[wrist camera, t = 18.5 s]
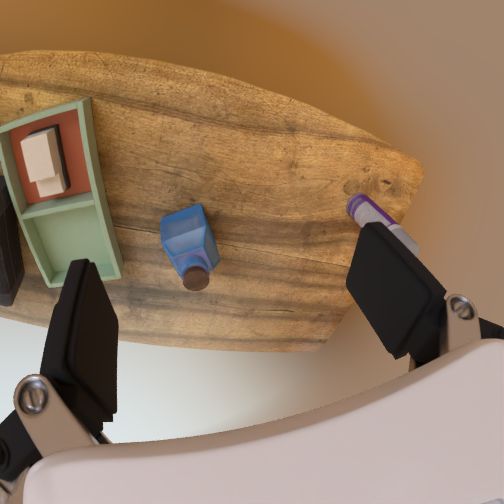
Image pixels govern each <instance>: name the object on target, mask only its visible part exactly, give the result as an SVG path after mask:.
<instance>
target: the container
mask: <svg viewBox="0 0 504 504" xmlns="http://www.w3.org/2000/svg"><path fill="white" fill-rule="evenodd" d="M346 210H347V213H348V214H349V215H350V216H351V217H352V218H353V219H354V220H355V221H356V222H357V224H358V225H359V226H360V227H361V228H362V227H364V225H365V224H366V223H367V222H376V221H380V222H382V223H383V224H384V225H385V226H386V227H387V228H388V229H389V230H390V231H391V232H392V233H393V234H394V235H395V236H396V237H397V238H398V239H399V240H400V241H401V242H402V243H403V244H404V245H405V246H406V247H407V248H408V249H409V250H410V251H411V252H412V253H413V254H414V255H415V256H416V257H417V256H418V254H419V251H420V247H419V245H418V244H417V243H416V242H415V241H414V240H413V239H412V238H411V237H410V236H409V235H408V234H407V233H406V232H405V231H404V230H403V229H402V227H401V226H400V225H399V224H397V223H396V222H395V221H394V220H393V219H392V218H391V217H390V216H389V215H388V214H387V213H385V212H384V211H383V210H382V209H381V208H380V207H379V206H378V205H376V204H375V203H374V202H373V201H372V200H371V199H370V198H368V197H367V196H366V195H365V194H362V193H358V194H355V195H354V196H352V197H351V198H350V199H349V201H348V203H347V206H346Z"/></svg>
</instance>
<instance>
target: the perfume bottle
mask: <svg viewBox="0 0 504 504" xmlns="http://www.w3.org/2000/svg"><path fill="white" fill-rule="evenodd" d="M161 243H162V245H163V247H164V249H165V251H166V253H167V255H168V256H169V258H170V260H171V262H172V264H173V265H174V267H175V269H176V271H177V273H178V274H179V276H180V277H181V278H182V280H183V285H184V286H185V288H187V289H188V290H191V291H199V290H202V289H204V288H205V287H207V285H208V284H209V271H210V270H213V269H214V268H215V267H216V265H217V264H218V263H219V262H220V258H219V254H218V250H217V247H216V243H215V239H214V236H213V233H212V231H211V228H210V226H209V223H208V221H207V218H206V216H205V213H204V211H203V208H202V205H201V203H200V204H197V205H194V206H192V207H189V208H186V209H184V210H181V211H178V212H176V213H173V214H171V215H168V216H165V217H163V218H161Z"/></svg>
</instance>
